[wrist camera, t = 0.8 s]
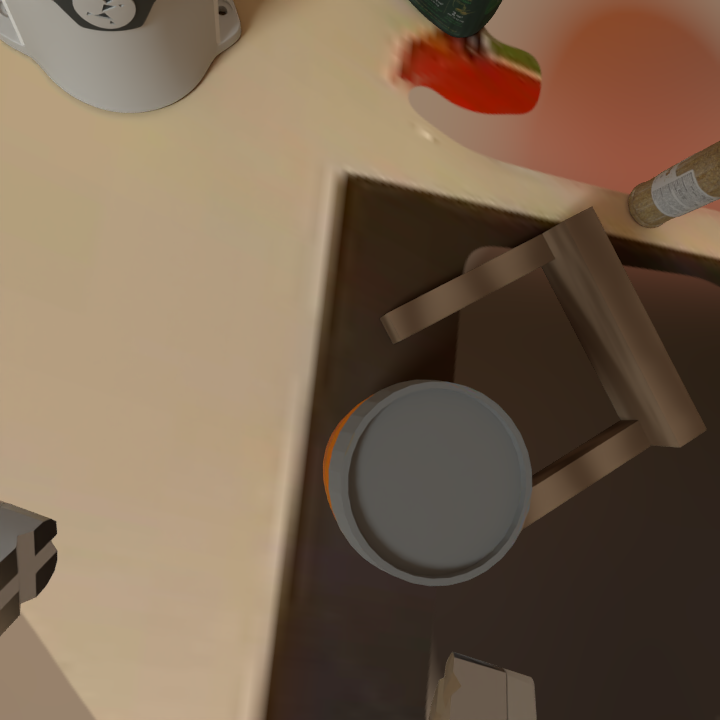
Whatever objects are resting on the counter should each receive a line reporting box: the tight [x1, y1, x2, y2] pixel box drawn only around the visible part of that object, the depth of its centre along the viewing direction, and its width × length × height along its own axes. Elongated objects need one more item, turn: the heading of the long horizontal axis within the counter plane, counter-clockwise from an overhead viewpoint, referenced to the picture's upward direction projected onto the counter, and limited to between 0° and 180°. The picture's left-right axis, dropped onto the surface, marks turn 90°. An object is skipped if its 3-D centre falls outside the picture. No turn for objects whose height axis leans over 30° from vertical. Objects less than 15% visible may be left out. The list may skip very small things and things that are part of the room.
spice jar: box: [629, 141, 720, 228], centre depth 52 cm, size 5×5×13 cm
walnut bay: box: [380, 207, 707, 529], centre depth 51 cm, size 19×21×6 cm
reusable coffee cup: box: [323, 380, 532, 586], centre depth 43 cm, size 12×13×15 cm
